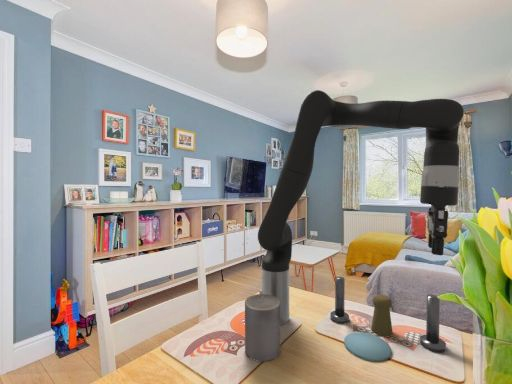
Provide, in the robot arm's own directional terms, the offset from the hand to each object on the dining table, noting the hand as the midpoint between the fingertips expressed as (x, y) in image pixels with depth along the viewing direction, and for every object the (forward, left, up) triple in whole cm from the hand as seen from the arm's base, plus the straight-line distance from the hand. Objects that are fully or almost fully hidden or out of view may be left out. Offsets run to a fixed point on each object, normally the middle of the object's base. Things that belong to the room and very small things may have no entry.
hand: (435, 251), depth 64 cm
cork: (-13, +10, -29) cm, 34 cm away
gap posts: (-13, +10, -29) cm, 33 cm away
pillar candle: (-38, -19, -29) cm, 52 cm away
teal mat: (-15, -1, -29) cm, 33 cm away
